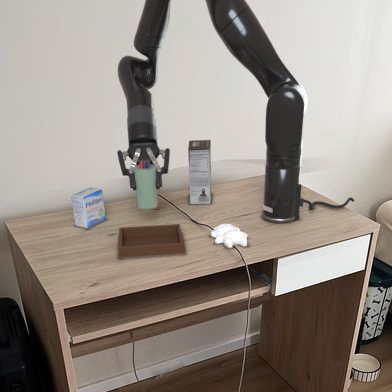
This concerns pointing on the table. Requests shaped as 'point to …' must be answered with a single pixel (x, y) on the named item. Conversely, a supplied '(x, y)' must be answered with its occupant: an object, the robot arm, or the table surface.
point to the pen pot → (146, 185)
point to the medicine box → (88, 207)
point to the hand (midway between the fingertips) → (146, 188)
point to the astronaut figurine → (229, 235)
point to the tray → (150, 240)
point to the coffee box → (200, 171)
